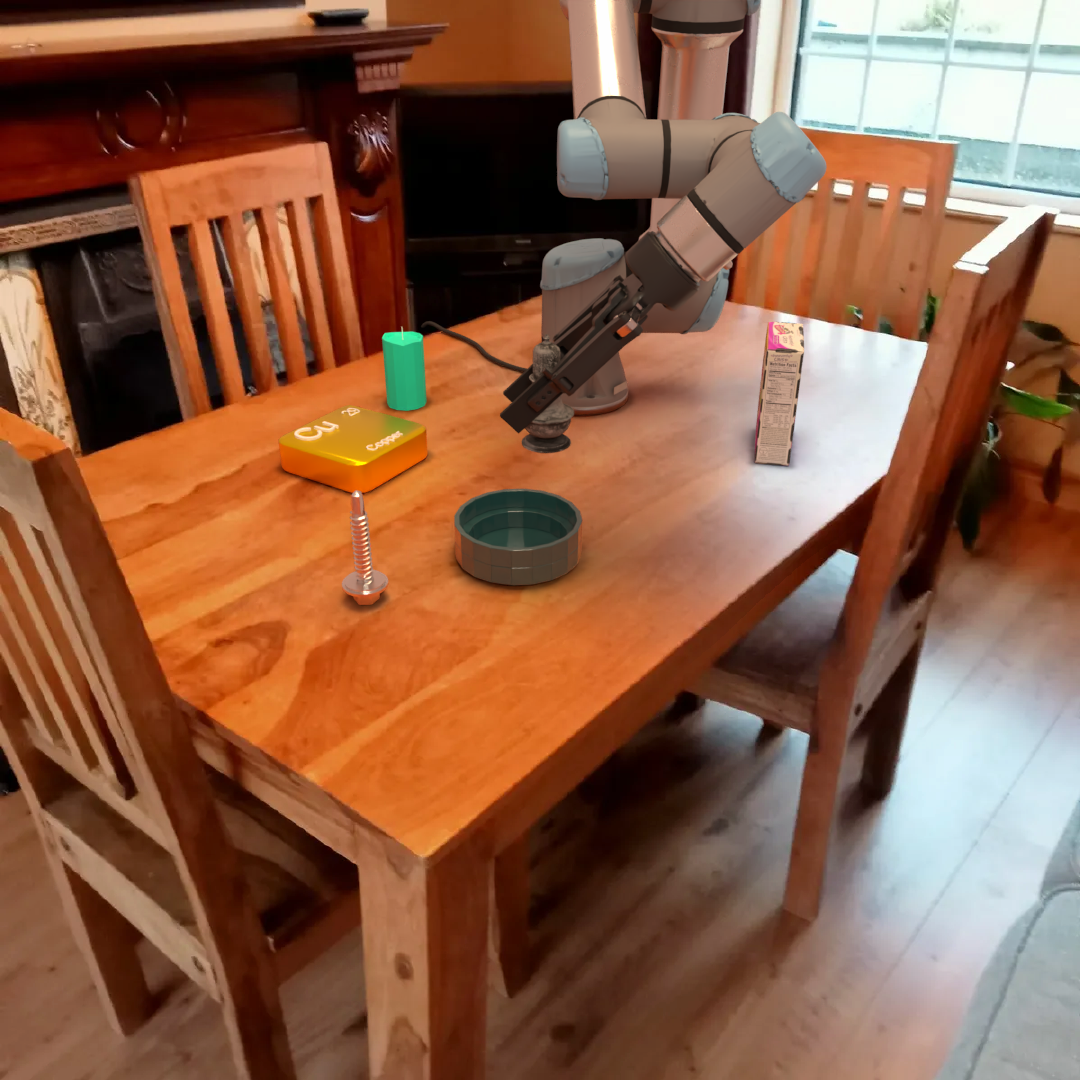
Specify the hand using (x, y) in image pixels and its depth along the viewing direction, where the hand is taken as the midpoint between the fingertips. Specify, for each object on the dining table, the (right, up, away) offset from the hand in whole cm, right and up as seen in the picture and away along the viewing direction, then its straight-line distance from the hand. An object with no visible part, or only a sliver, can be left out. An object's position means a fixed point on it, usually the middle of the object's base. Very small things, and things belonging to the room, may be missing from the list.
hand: (511, 411), depth 106 cm
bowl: (+1, -15, +9) cm, 18 cm away
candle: (-17, +7, +48) cm, 52 cm away
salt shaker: (+4, -3, +2) cm, 5 cm away
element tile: (-22, -3, +30) cm, 37 cm away
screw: (-15, -20, +1) cm, 25 cm away
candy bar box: (+35, -1, +34) cm, 49 cm away
